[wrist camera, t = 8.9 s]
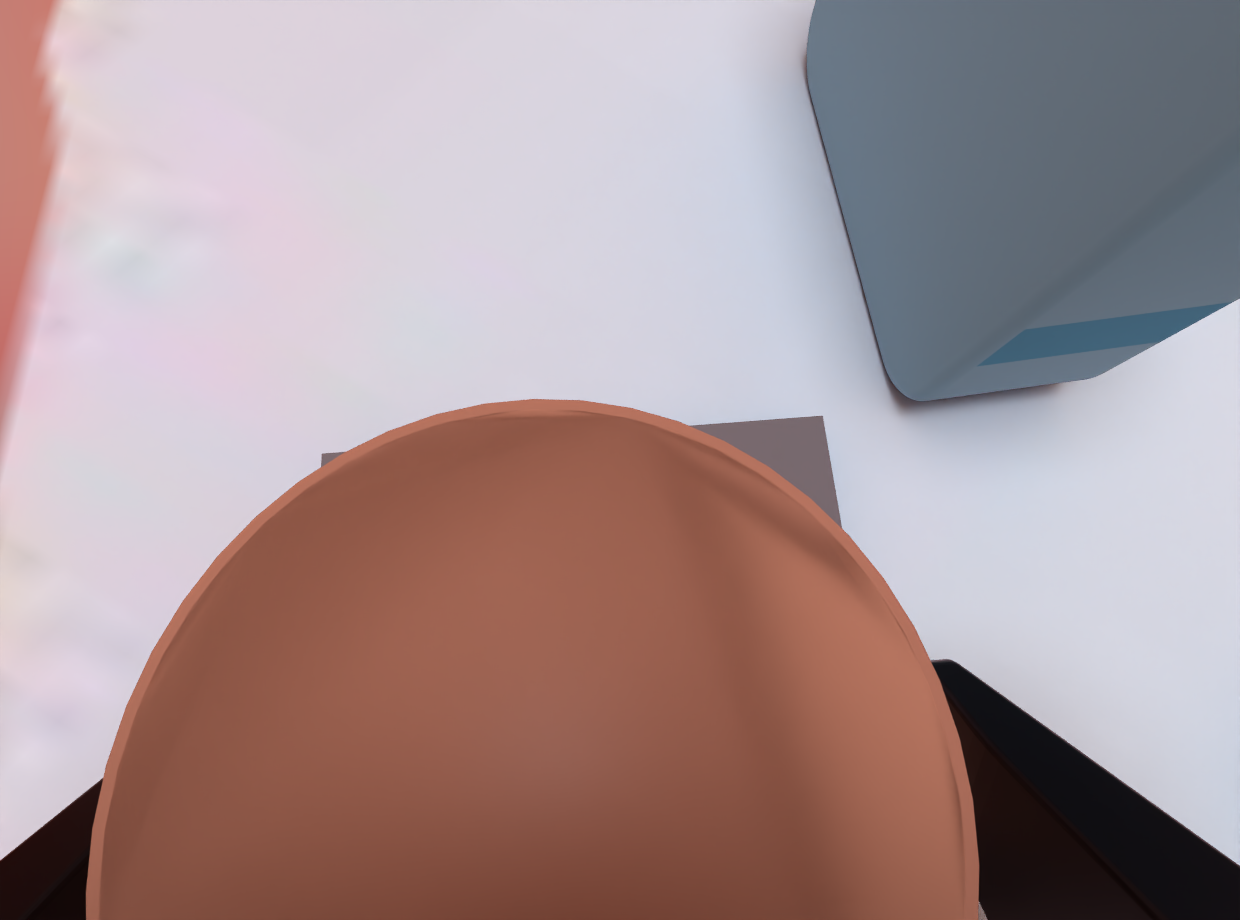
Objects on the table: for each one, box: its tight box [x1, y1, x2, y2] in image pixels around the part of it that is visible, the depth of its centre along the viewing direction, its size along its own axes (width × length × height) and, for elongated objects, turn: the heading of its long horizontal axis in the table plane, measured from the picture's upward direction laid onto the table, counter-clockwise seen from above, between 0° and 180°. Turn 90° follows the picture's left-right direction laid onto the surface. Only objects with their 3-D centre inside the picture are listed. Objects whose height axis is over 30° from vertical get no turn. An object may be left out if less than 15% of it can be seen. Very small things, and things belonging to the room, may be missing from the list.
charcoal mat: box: [321, 416, 842, 528], centre depth 14 cm, size 12×12×1 cm
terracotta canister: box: [86, 399, 979, 920], centre depth 9 cm, size 7×7×9 cm
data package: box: [807, 0, 1240, 401], centre depth 13 cm, size 12×4×12 cm, turn 8°
